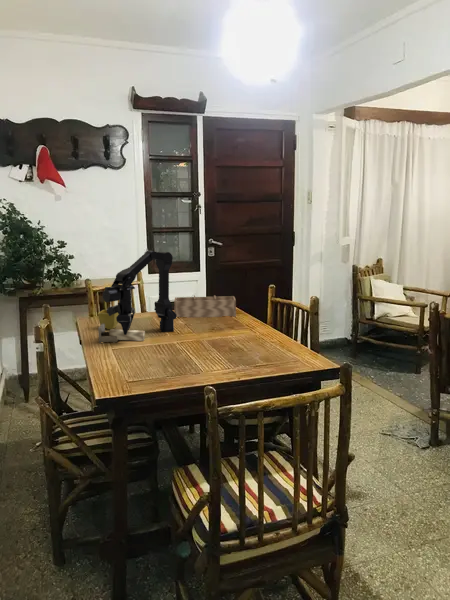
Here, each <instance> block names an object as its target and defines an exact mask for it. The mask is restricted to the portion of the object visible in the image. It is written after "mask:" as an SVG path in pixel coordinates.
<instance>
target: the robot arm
mask: <svg viewBox="0 0 450 600" xmlns="http://www.w3.org/2000/svg"><path fill="white" fill-rule="evenodd" d="M173 258H174V257H173V254H172V253H171V252H169V251H154V250H146V251H145V252H144V254H143V255H142V256H140V257H139V258H138V259H137V260H135V261H134V263H132V264H131V265H129V267H127V268H124V269H122V270H120V271H118V272H117V274H116V275H115V279H114V281H112V284H111V286H105V287H104V290H103V292H102V299H103V301H104V302H105V303H111V302H117V304H114V305H111V306H108V307H107V309H106V310H107V313H108V314H109V316H111V315H113V314H115V313H118V314H119V315H118V316H117V317H116V321H117V322H118V324H120V326H121V328H122V329H121V330H123V332H124V335H127V332H128V330H131V329H130V328H131V326H132V322H133V319H134V317H135V313H136V311H135V308H134V307H133V305H132V304H133V300H132V290H135V289H136V287H135V286H134V285H133V282H135V280H136V277H137V275H138V274H139V273H141V271H142V270H144V268H146V267H147V266H148V265H149V264H150V263H151V262H152V261H155V265H156V267H157V269H158V300H157V301H155V302H154V312H155V314H156V315H157V318H158V319H160V321H159V330H160V332H162V333H163V332H164V333H165V332H167V333H169V332H175V331H174V330H175V326H174V325H175V324H174V322H175V321H174V320H176V319H177V318H176V317H177V314H176V313H175V311H174V309H173V305H172V302H171V300H170V296H169V295H170V291H169V290H170V289H169V288H170V269H171V267H172V265H173Z"/></svg>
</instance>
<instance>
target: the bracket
mask: <svg viewBox="0 0 450 600" xmlns="http://www.w3.org/2000/svg"><path fill="white" fill-rule="evenodd" d="M97 333H98V334H97V336H98V344H102V343H101V342H113V343H112V344H116V343H115V342H117V341H118V342H119V340H117V336H109V331H106V329H105V324H101V325H99V326H98V328H97ZM118 342H117V343H118Z"/></svg>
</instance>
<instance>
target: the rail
mask: <svg viewBox="0 0 450 600" xmlns="http://www.w3.org/2000/svg"><path fill="white" fill-rule="evenodd" d="M108 332H109V336H117V340H118V341H121V340H122V341H134V342H135V341H141V342H144V341H145V339H146V338H145V336H146V331H145V330H137V329H136V330H135V329H133V330H132V329H129V330H128V332H127V335H124V332H123V329H118V328H114V329H109V330H108Z"/></svg>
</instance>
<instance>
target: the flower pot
mask: <svg viewBox="0 0 450 600" xmlns="http://www.w3.org/2000/svg"><path fill="white" fill-rule="evenodd" d="M97 315H98V322H99V324H100V325H99V326H101V324H105V328H107V329H106V330H111V329H113V328H114V329H116V328H117V326H118V324H119V323H118V322H117V321H116V317H117V316H118V315H119V314H118V313H115V314H113V315H111V316H109V314H108V313H107V309H102V310H101V311H99V312H98V313H97Z"/></svg>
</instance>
